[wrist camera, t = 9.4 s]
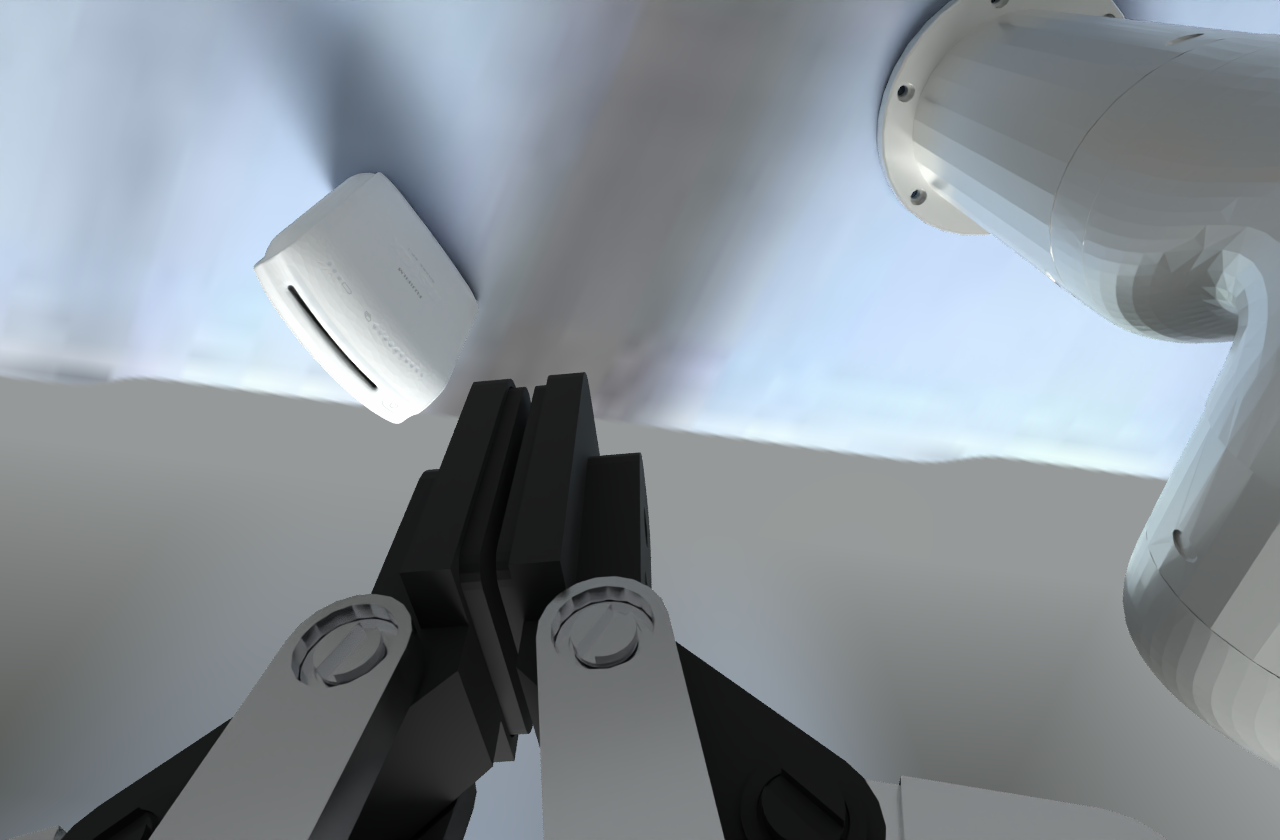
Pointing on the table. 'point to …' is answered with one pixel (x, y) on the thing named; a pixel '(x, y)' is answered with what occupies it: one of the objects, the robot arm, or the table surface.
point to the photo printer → (371, 296)
